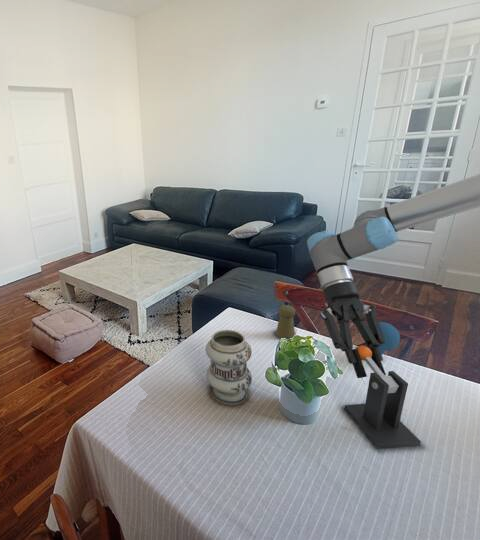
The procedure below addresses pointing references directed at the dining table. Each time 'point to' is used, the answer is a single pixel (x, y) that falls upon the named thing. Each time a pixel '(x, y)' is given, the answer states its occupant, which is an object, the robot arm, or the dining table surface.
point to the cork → (286, 322)
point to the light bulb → (389, 337)
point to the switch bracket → (383, 414)
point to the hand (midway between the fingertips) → (371, 376)
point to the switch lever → (376, 367)
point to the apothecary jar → (228, 366)
